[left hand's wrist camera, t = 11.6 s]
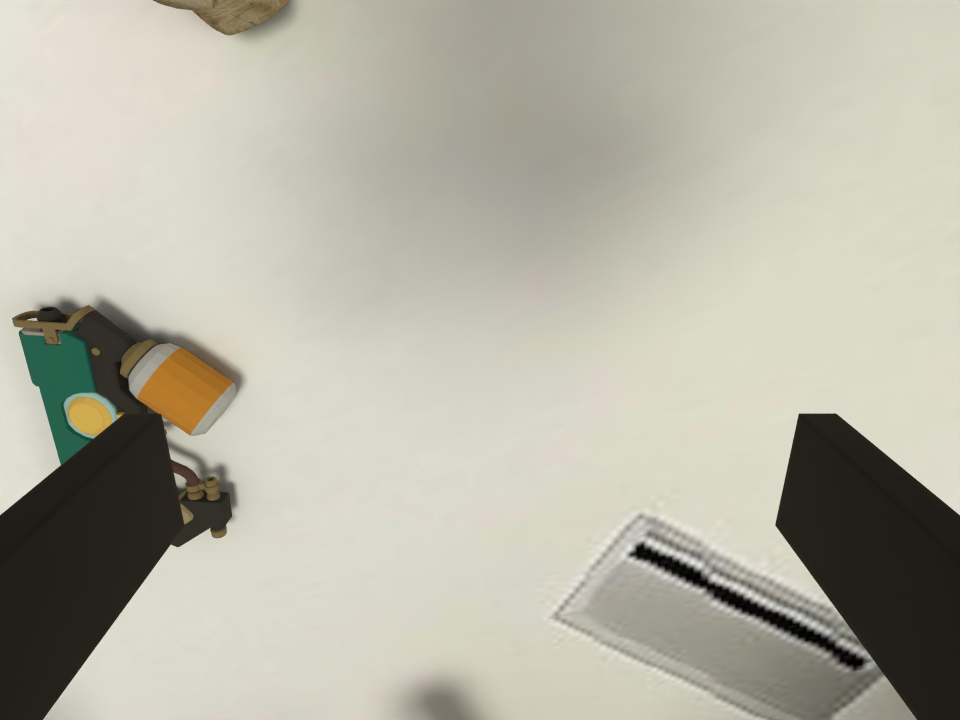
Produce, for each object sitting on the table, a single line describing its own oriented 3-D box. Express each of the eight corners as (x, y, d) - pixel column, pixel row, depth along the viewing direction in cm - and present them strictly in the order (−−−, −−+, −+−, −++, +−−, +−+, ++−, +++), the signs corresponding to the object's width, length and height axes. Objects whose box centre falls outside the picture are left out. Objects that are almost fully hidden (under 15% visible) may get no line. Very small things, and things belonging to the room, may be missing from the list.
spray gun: (233, 539, 47) (36, 480, 46) (273, 351, 40) (43, 276, 39) (207, 579, 43) (-9, 517, 42) (247, 379, 36) (-9, 297, 35)
